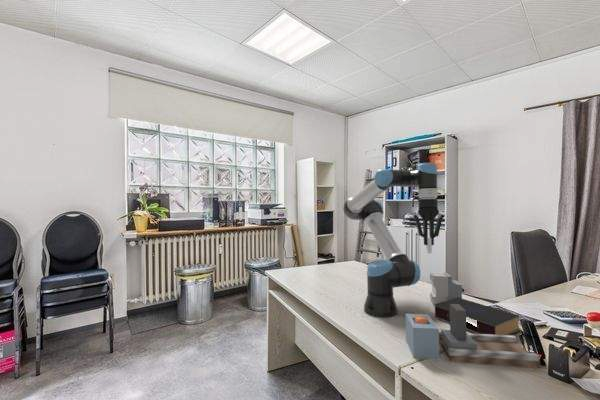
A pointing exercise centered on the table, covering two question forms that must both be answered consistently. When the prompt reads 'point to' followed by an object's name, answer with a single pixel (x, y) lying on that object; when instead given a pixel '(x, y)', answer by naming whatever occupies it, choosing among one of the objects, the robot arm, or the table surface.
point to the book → (481, 317)
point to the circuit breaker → (444, 288)
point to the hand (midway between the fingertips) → (428, 252)
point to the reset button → (420, 320)
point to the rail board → (493, 348)
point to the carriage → (458, 330)
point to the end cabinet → (422, 337)
